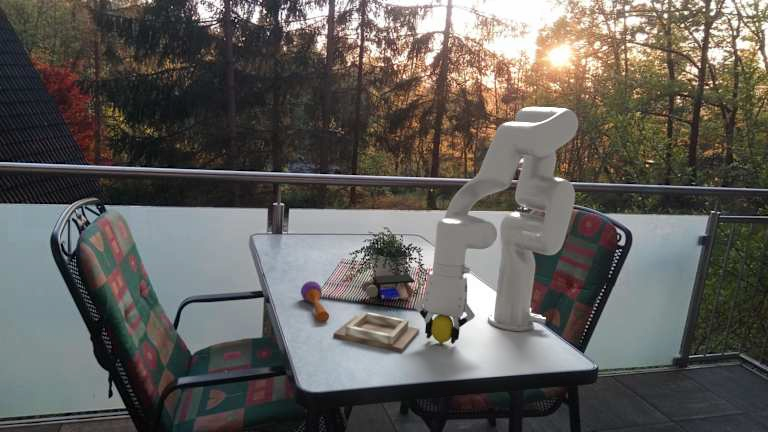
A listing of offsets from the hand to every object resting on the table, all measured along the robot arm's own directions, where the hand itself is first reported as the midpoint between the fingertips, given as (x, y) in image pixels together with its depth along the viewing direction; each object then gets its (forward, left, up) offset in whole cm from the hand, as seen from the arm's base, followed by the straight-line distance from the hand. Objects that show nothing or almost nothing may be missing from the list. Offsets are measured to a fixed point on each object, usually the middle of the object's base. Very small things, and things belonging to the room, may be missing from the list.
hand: (441, 338), depth 138 cm
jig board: (+16, +3, -1) cm, 16 cm away
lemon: (0, 0, -1) cm, 1 cm away
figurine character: (+23, -24, -2) cm, 33 cm away
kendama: (+38, -5, -2) cm, 38 cm away
